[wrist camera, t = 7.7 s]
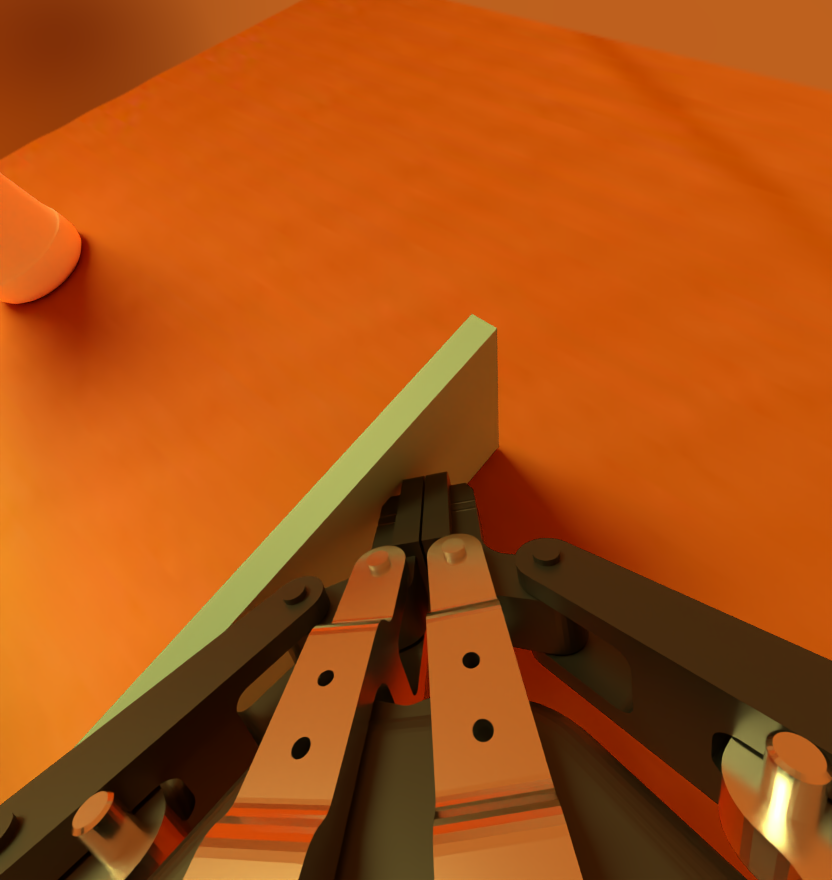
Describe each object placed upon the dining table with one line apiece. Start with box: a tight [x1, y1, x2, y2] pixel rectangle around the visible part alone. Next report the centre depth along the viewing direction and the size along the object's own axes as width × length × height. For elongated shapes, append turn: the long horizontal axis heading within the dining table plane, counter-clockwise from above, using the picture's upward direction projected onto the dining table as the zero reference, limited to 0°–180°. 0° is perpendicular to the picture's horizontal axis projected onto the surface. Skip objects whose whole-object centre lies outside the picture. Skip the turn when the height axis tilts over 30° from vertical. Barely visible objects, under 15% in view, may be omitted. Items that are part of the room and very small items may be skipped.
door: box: [74, 314, 499, 748], centre depth 14 cm, size 18×1×10 cm, turn 138°
